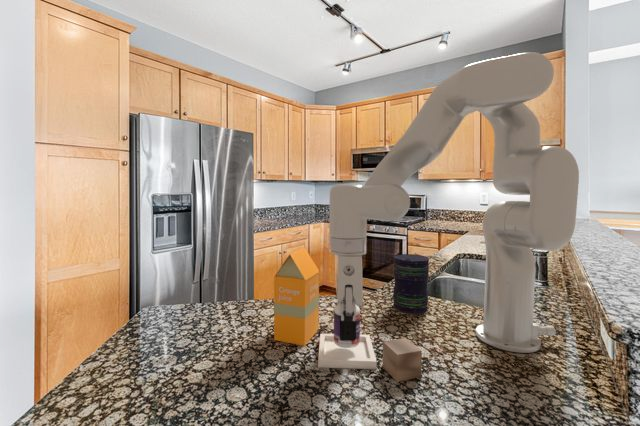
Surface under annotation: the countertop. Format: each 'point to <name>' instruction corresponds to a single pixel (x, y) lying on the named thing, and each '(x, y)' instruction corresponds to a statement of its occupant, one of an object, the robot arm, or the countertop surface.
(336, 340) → the pill bottle
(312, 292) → the orange juice
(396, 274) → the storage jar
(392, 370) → the walnut block
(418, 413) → the countertop surface
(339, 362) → the tray
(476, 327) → the robot arm
